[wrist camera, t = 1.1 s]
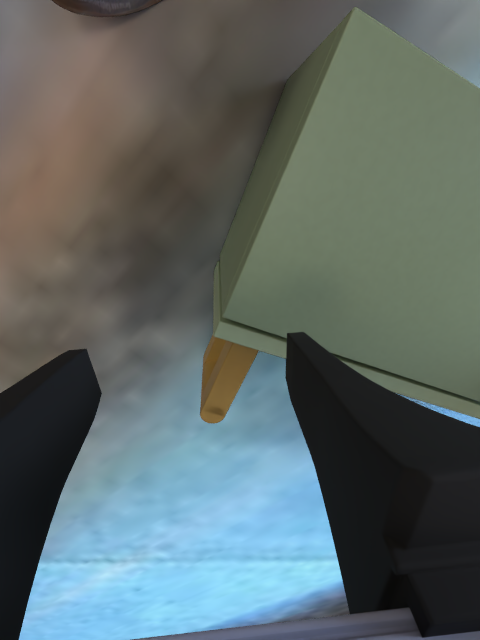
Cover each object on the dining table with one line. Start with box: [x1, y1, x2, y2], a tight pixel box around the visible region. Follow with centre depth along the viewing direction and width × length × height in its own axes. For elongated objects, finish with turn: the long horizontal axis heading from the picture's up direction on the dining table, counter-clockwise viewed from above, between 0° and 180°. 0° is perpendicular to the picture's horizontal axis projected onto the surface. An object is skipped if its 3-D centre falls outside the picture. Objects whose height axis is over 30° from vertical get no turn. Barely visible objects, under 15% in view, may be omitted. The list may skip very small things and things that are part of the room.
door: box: [200, 261, 480, 423], centre depth 19 cm, size 7×16×8 cm, turn 68°
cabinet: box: [220, 7, 480, 402], centre depth 16 cm, size 10×16×9 cm, turn 68°
